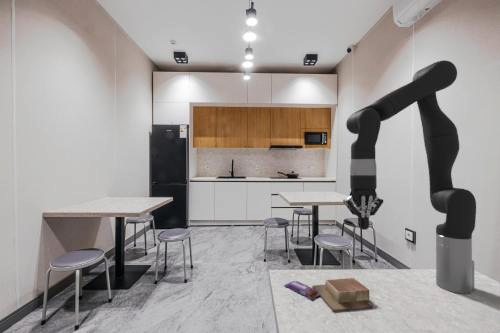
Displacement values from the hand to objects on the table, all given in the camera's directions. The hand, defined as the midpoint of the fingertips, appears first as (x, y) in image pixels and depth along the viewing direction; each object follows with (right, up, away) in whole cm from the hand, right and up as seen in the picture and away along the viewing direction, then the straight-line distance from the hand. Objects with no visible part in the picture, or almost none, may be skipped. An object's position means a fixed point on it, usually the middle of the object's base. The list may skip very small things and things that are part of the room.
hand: (363, 228), depth 77 cm
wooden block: (-1, -19, 0) cm, 19 cm away
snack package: (-19, -22, +2) cm, 29 cm away
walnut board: (-8, -21, -1) cm, 22 cm away
